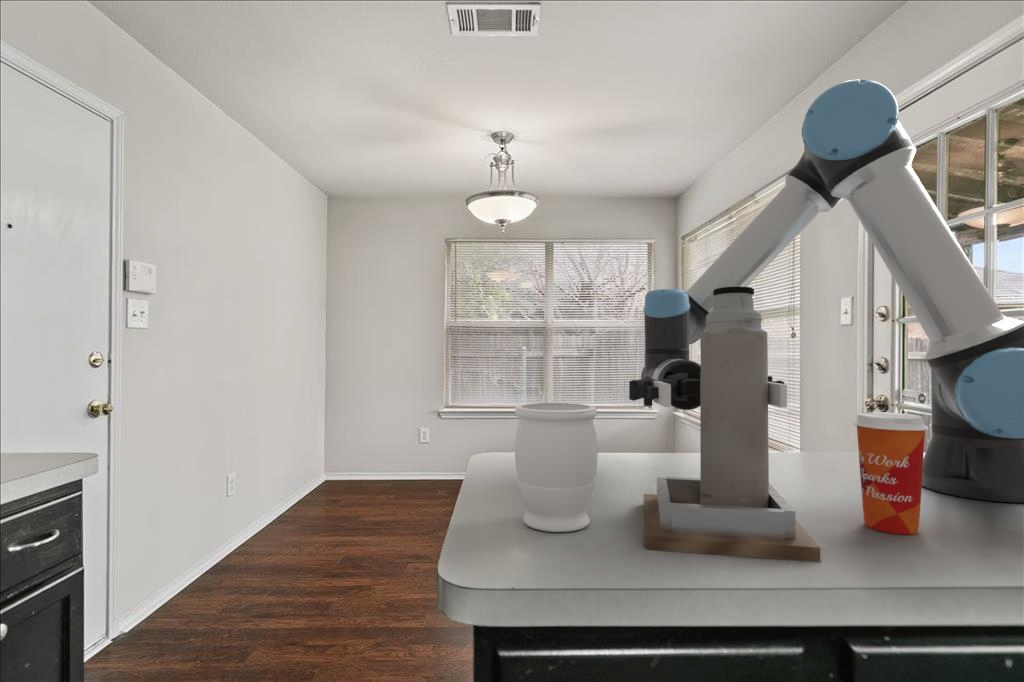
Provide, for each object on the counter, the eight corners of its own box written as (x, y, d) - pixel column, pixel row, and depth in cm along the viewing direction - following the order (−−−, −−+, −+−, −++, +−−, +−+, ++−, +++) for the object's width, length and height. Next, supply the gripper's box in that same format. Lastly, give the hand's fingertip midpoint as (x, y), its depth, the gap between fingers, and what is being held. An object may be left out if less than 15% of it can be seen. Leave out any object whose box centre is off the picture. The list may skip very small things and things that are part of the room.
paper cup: (840, 522, 72) (839, 413, 72) (880, 515, 75) (879, 410, 75) (904, 542, 65) (903, 420, 65) (945, 533, 68) (943, 417, 68)
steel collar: (767, 504, 75) (767, 481, 75) (797, 540, 61) (796, 512, 61) (656, 497, 78) (656, 476, 78) (660, 531, 64) (660, 504, 64)
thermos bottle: (694, 501, 74) (694, 292, 76) (756, 504, 74) (754, 293, 76) (709, 515, 67) (708, 282, 68) (779, 519, 66) (776, 283, 68)
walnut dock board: (779, 512, 76) (779, 501, 76) (820, 562, 59) (820, 547, 59) (643, 504, 80) (643, 493, 80) (644, 548, 63) (644, 535, 63)
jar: (604, 515, 75) (603, 403, 75) (589, 540, 65) (588, 412, 66) (528, 508, 79) (528, 401, 79) (503, 531, 69) (503, 409, 69)
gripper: (762, 407, 87) (833, 428, 66) (600, 407, 88) (619, 426, 67) (761, 359, 87) (832, 364, 66) (600, 359, 88) (619, 364, 67)
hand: (725, 395), depth 66 cm, fingers open, 13 cm apart
